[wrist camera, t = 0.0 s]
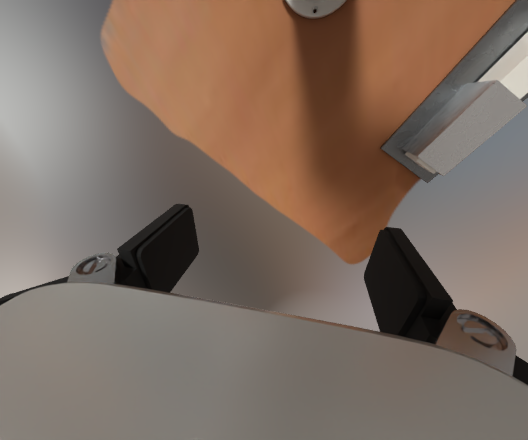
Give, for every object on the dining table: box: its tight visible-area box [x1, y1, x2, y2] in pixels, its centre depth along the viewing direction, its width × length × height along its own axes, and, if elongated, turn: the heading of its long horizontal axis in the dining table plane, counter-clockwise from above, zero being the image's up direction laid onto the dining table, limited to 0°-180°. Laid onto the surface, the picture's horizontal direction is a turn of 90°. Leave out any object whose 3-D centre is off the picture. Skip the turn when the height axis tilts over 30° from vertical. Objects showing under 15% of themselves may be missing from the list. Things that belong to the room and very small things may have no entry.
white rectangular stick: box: [405, 32, 528, 174], centre depth 31 cm, size 24×4×5 cm, turn 149°
